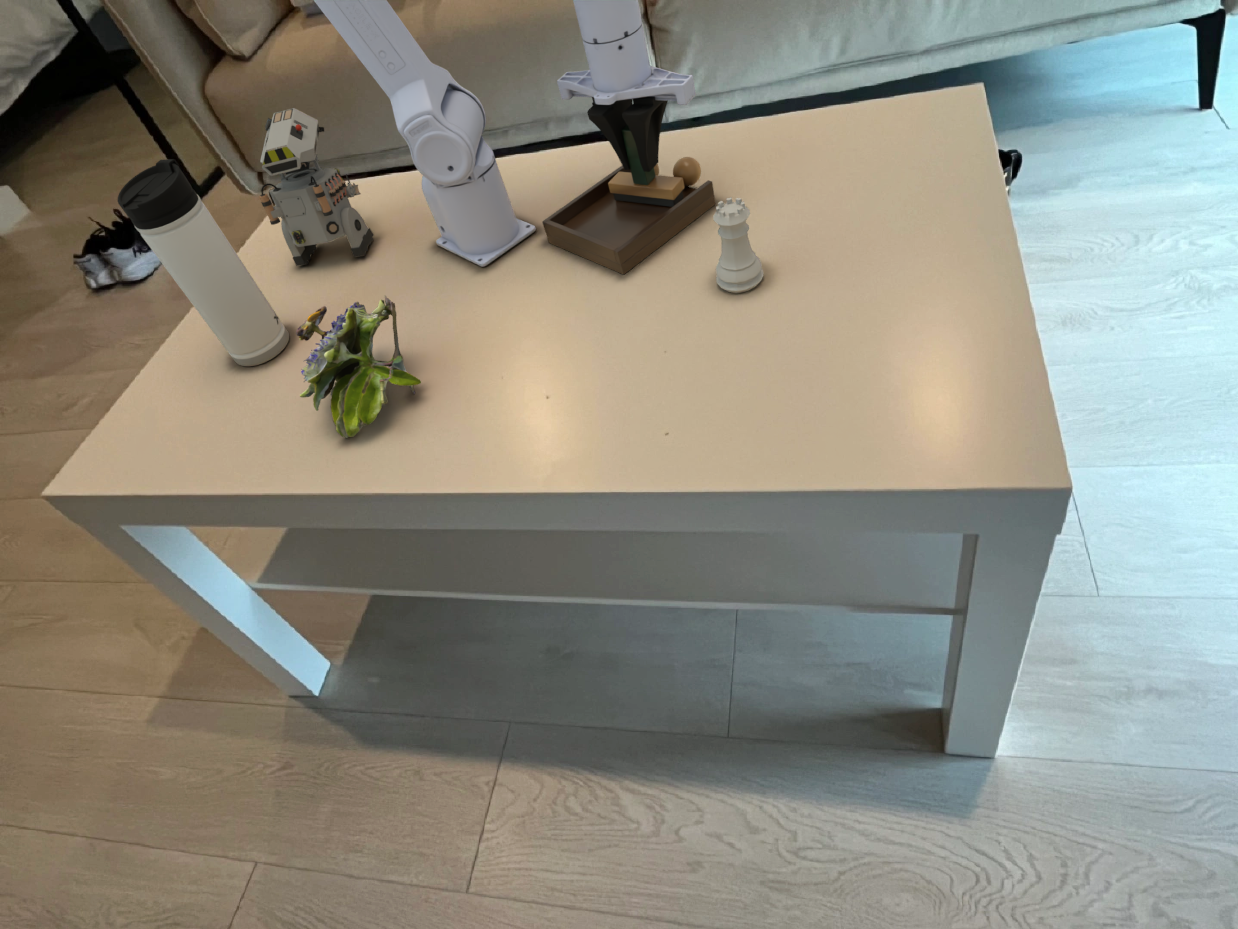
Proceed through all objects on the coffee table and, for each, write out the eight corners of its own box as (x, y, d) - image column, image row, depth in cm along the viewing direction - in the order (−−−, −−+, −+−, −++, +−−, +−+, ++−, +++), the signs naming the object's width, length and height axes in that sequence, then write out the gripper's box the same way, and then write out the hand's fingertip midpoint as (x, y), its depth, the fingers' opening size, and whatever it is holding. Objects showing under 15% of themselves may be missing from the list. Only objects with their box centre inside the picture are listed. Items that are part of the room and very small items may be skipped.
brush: (612, 201, 89) (594, 129, 83) (623, 189, 91) (606, 118, 85) (675, 208, 85) (661, 134, 80) (686, 196, 87) (673, 122, 81)
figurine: (389, 212, 102) (332, 94, 91) (361, 266, 95) (296, 144, 84) (324, 222, 104) (261, 108, 93) (292, 276, 97) (219, 158, 86)
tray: (548, 242, 89) (541, 221, 87) (637, 179, 94) (632, 157, 92) (623, 274, 82) (617, 252, 80) (715, 204, 87) (712, 180, 85)
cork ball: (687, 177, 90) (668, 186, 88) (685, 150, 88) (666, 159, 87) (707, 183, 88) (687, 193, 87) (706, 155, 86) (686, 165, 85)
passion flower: (374, 425, 83) (343, 307, 81) (461, 410, 79) (431, 285, 76) (291, 450, 73) (254, 317, 71) (385, 435, 69) (348, 292, 66)
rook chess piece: (762, 293, 75) (753, 217, 69) (713, 296, 76) (701, 221, 70) (766, 264, 78) (758, 188, 72) (719, 267, 79) (708, 193, 73)
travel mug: (303, 328, 88) (193, 156, 74) (268, 369, 85) (145, 196, 70) (259, 325, 91) (145, 158, 76) (223, 365, 87) (96, 198, 72)
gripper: (526, 49, 77) (564, 180, 87) (658, 50, 70) (684, 193, 80) (566, 16, 80) (598, 146, 90) (696, 14, 73) (716, 155, 83)
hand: (641, 165), depth 85 cm, fingers closed on brush, 2 cm apart
